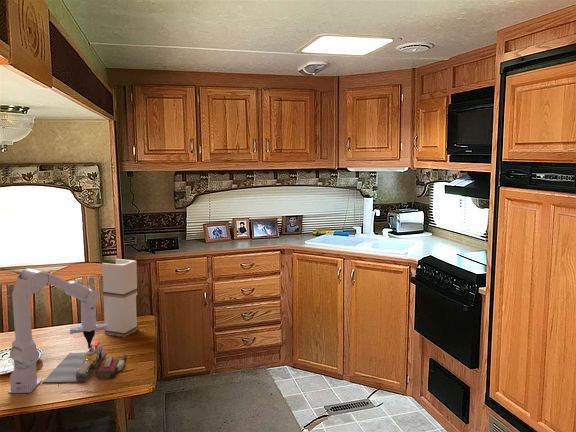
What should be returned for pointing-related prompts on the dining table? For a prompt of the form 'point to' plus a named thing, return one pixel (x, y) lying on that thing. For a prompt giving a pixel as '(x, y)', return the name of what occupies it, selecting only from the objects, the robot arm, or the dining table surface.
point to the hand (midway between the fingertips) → (89, 347)
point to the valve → (89, 363)
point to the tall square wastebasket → (120, 297)
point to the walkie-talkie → (110, 367)
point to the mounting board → (69, 369)
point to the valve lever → (93, 347)
